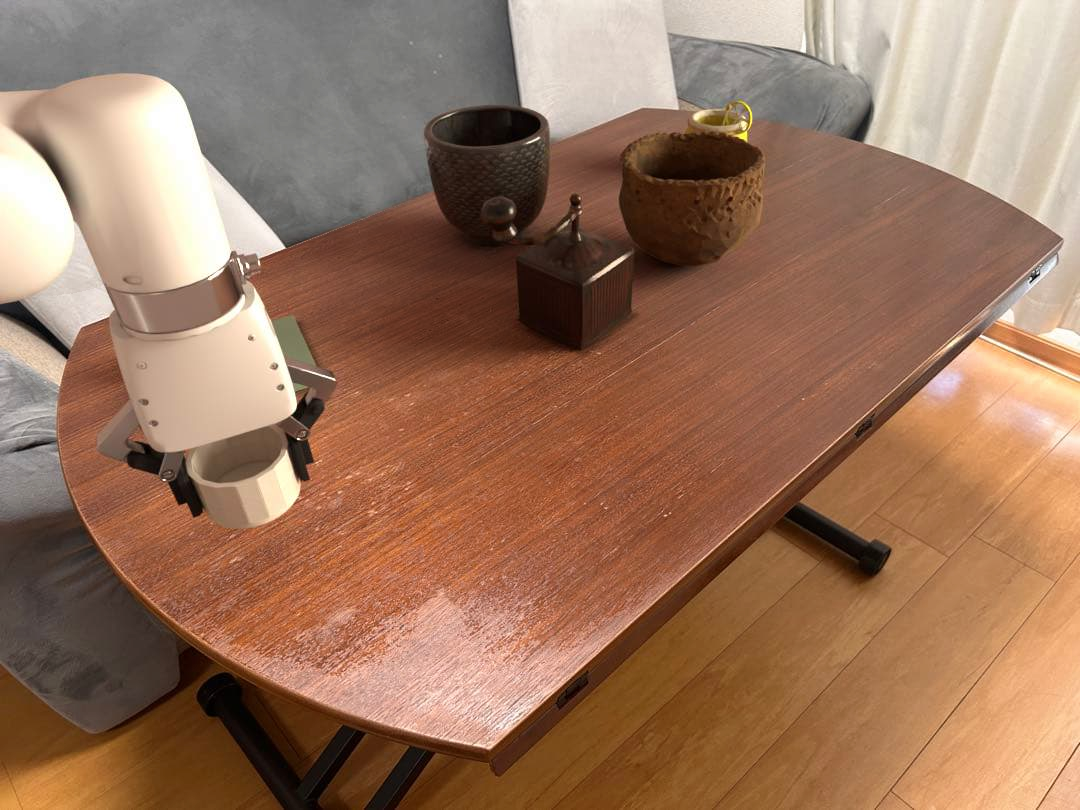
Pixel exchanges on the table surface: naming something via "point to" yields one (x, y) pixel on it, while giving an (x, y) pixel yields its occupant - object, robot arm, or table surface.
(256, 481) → the white bowl
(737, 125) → the mug
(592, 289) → the pepper mill
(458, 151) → the planter
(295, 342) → the scale
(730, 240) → the bowl
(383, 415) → the table surface
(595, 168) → the table surface
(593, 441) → the table surface
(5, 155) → the robot arm
